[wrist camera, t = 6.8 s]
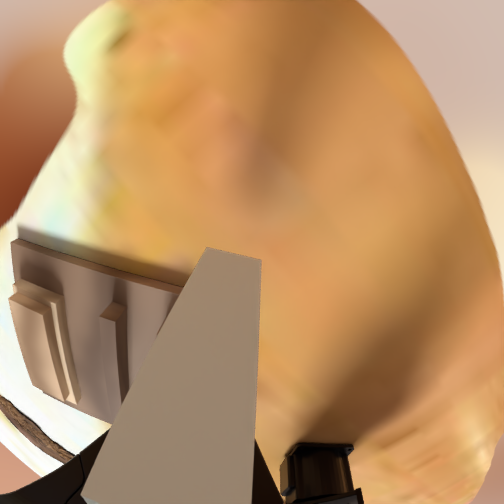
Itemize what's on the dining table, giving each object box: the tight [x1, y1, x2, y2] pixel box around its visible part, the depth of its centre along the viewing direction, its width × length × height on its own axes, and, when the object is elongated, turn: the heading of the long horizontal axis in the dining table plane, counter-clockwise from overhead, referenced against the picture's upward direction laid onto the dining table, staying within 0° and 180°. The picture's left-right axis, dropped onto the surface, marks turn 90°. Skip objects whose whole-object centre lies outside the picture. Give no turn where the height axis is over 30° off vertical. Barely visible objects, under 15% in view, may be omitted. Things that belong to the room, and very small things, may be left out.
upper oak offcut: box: [8, 292, 70, 402], centre depth 18 cm, size 4×10×1 cm, turn 167°
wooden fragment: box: [0, 395, 74, 464], centre depth 30 cm, size 26×11×1 cm, turn 42°
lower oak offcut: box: [13, 279, 82, 405], centre depth 20 cm, size 5×12×1 cm, turn 167°
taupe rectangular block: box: [81, 247, 261, 504], centre depth 7 cm, size 2×7×9 cm, turn 167°
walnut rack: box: [11, 238, 184, 424], centre depth 20 cm, size 18×18×3 cm
